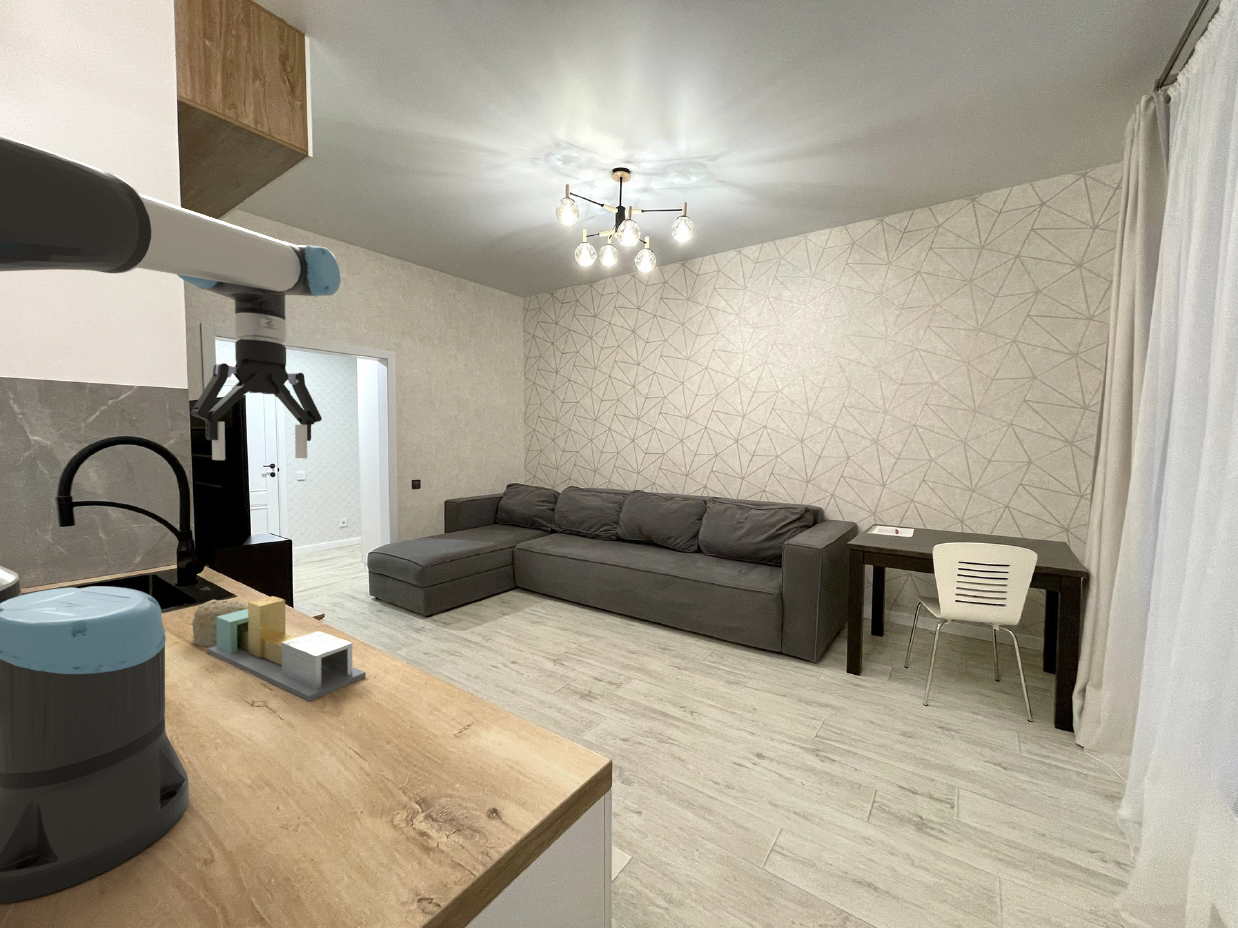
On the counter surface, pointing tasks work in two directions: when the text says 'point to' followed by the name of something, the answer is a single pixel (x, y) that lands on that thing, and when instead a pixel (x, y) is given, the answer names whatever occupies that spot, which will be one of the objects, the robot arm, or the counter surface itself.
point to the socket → (230, 629)
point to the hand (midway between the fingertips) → (262, 459)
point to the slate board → (274, 675)
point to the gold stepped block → (264, 629)
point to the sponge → (211, 620)
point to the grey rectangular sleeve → (315, 657)
